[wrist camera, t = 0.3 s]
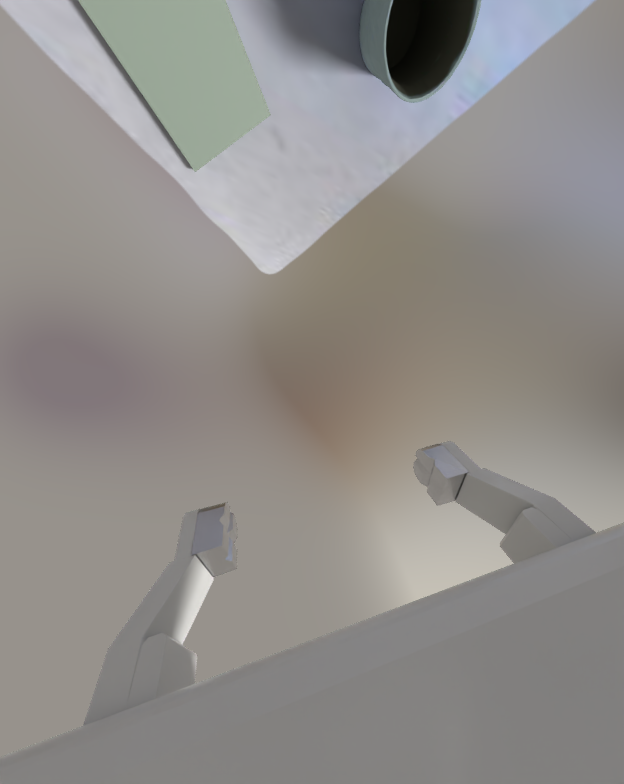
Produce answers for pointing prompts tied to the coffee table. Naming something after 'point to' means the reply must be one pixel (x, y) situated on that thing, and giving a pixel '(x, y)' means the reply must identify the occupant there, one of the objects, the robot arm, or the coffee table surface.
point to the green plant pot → (416, 42)
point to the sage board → (185, 69)
